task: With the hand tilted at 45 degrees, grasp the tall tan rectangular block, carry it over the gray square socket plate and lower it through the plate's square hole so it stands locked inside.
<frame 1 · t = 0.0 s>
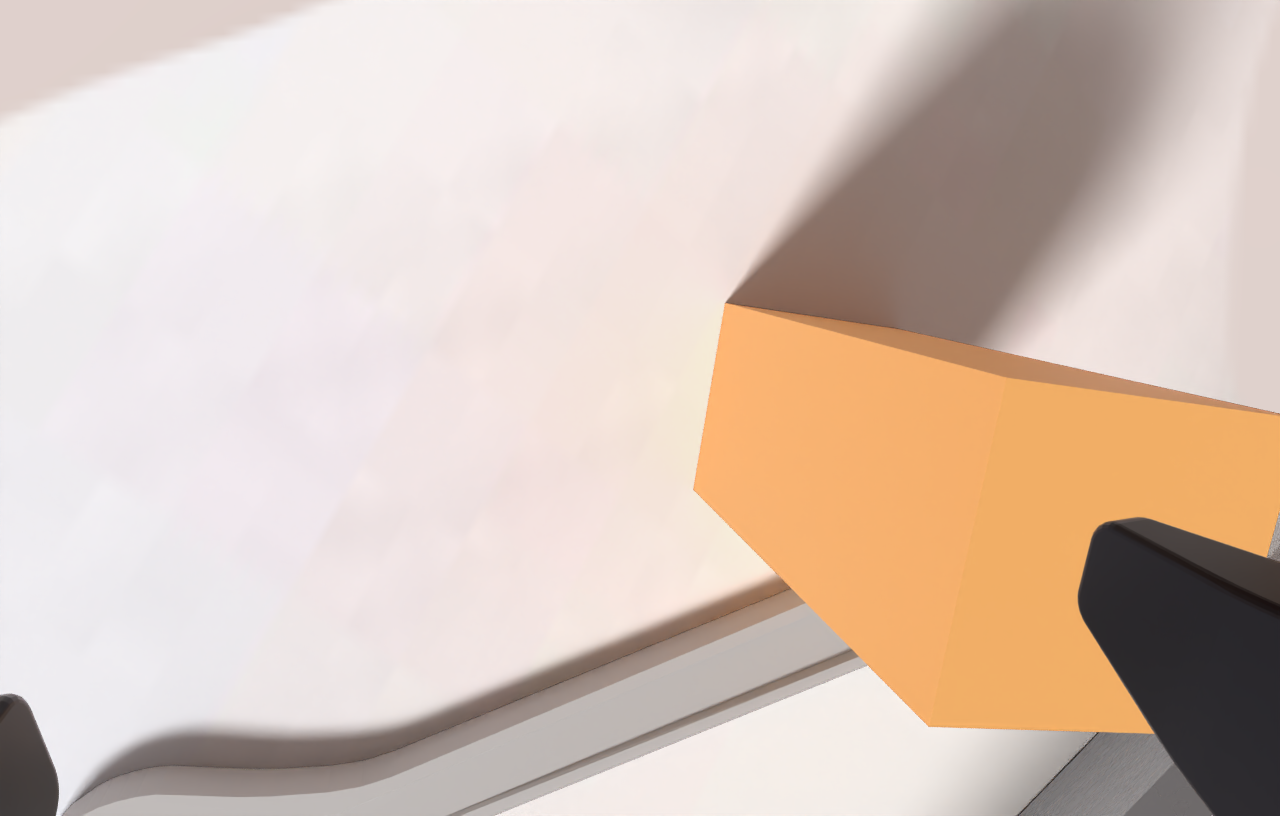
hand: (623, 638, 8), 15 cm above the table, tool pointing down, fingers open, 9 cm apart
tall tan rectangular block: (796, 408, 25), on the table
adjustable wrench: (535, 744, 25), on the table
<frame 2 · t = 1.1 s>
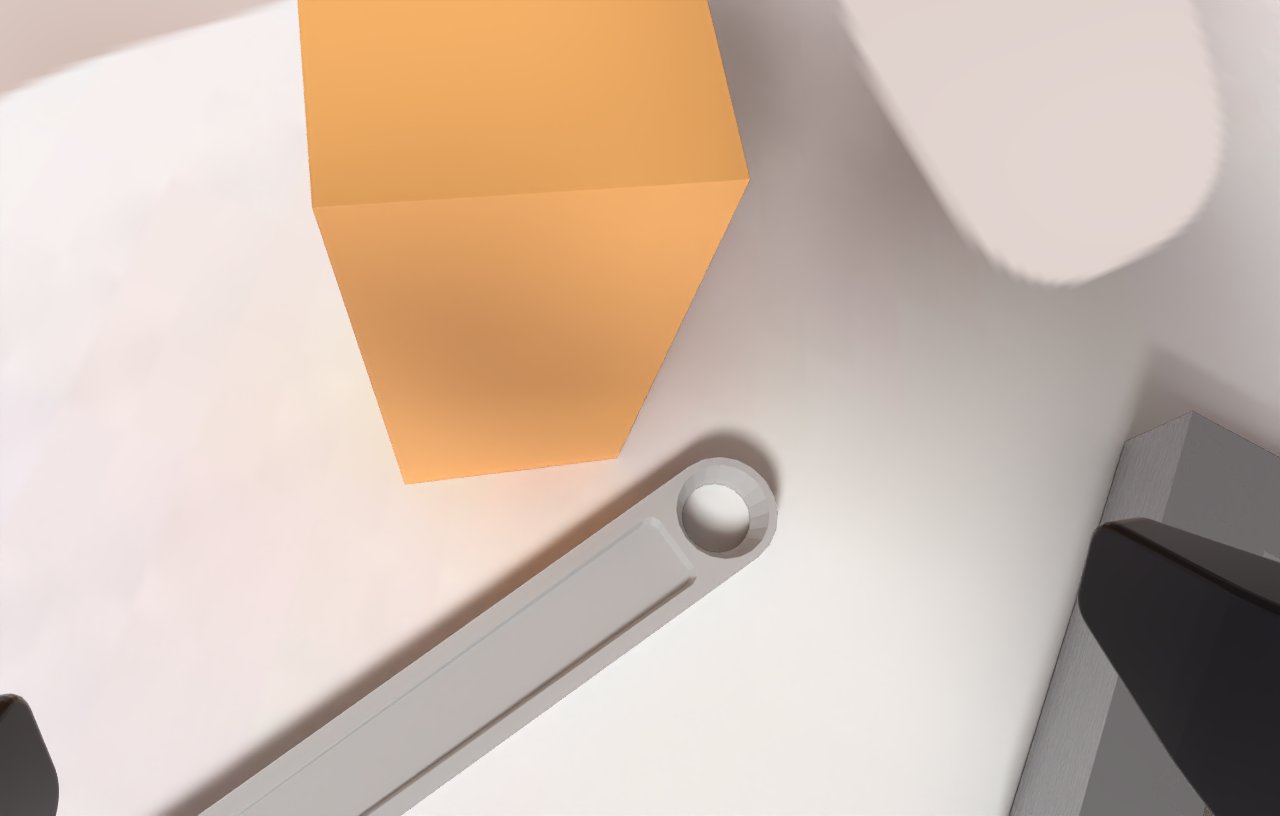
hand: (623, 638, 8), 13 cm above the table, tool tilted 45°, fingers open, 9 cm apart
tall tan rectangular block: (500, 372, 22), on the table
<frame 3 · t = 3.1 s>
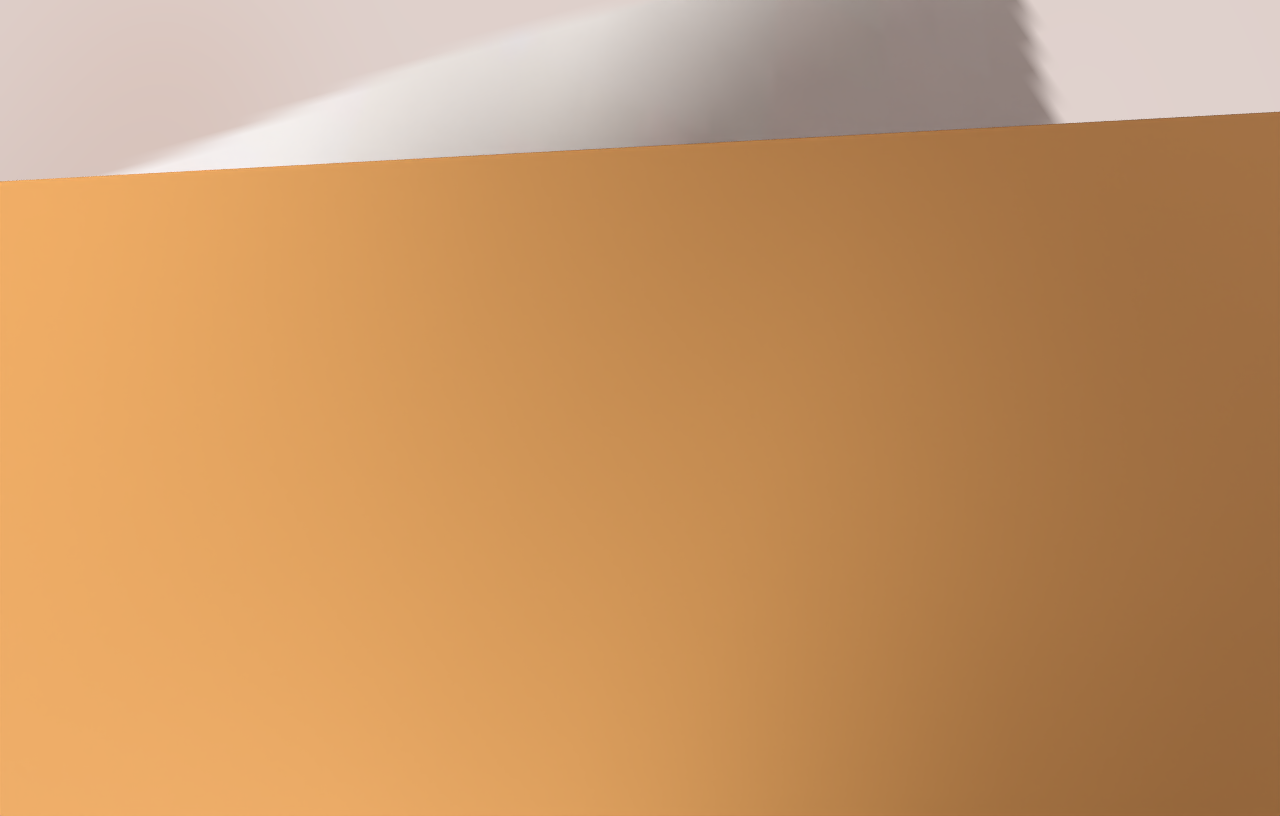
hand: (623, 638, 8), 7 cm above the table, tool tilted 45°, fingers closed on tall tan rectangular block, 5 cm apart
tall tan rectangular block: (576, 776, 13), on the table, touching gripper
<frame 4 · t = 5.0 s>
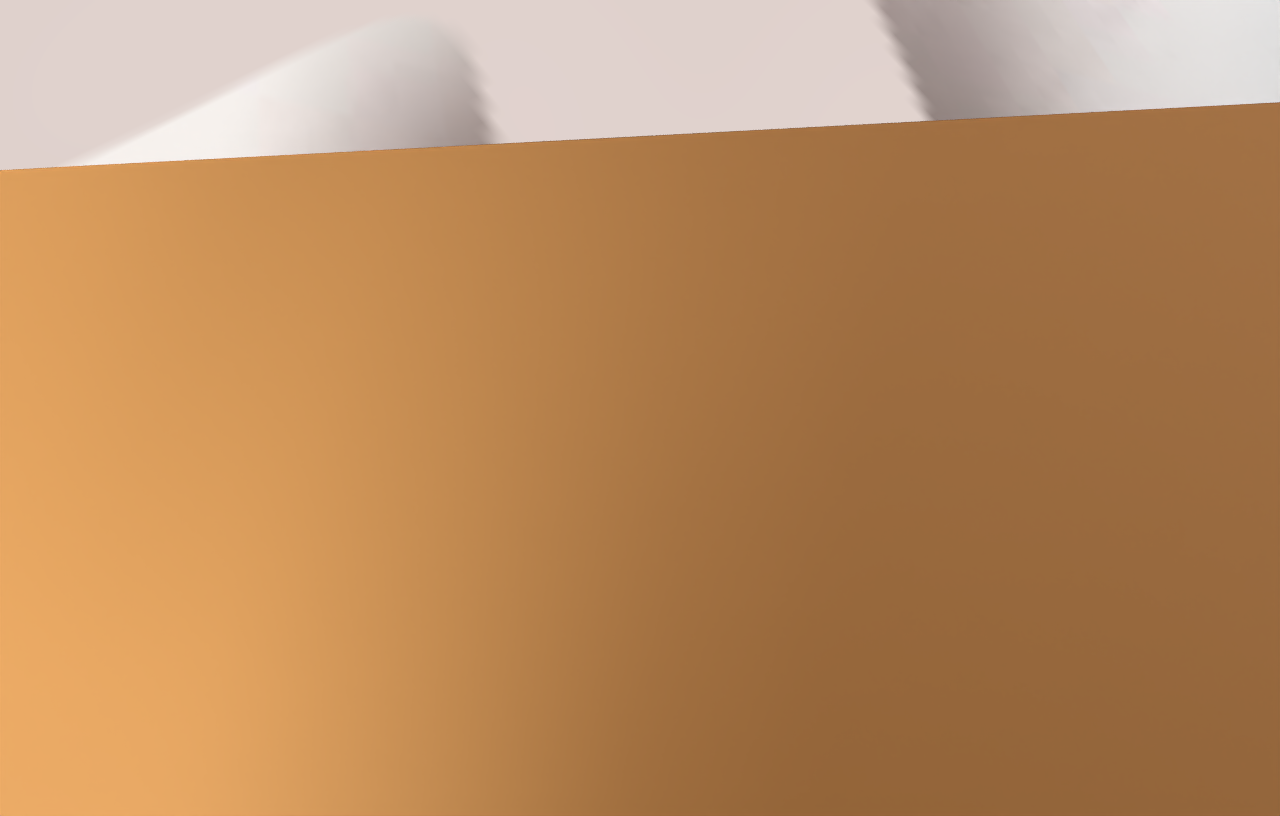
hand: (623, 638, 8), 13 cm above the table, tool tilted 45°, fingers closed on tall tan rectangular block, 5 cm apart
tall tan rectangular block: (573, 774, 13), point 6 cm above the table, touching gripper
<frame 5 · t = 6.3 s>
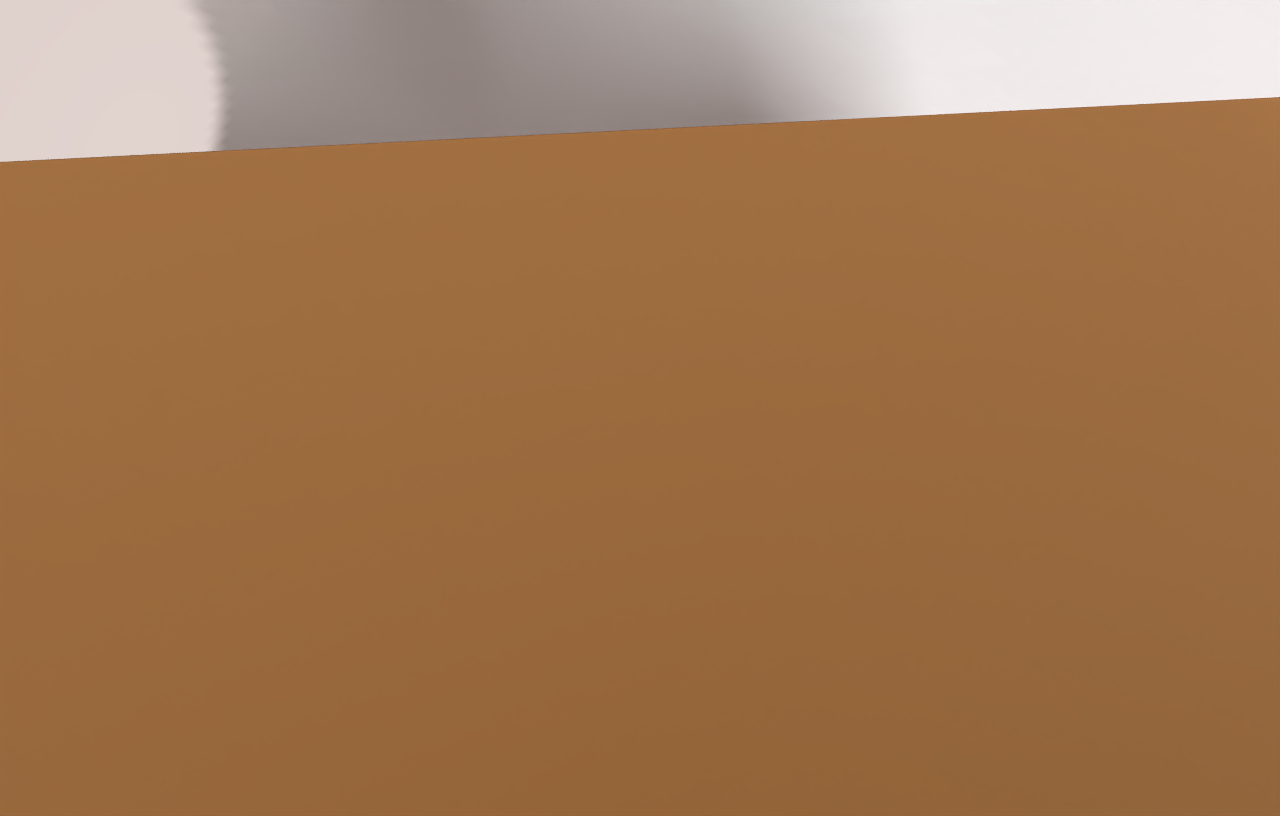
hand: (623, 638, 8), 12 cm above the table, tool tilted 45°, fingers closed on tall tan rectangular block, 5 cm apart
tall tan rectangular block: (575, 772, 13), point 5 cm above the table, touching gripper
when the fingers open (8 cm above the table, at t = 7.4 s): tall tan rectangular block drops 1 cm, resting in gray square socket plate.
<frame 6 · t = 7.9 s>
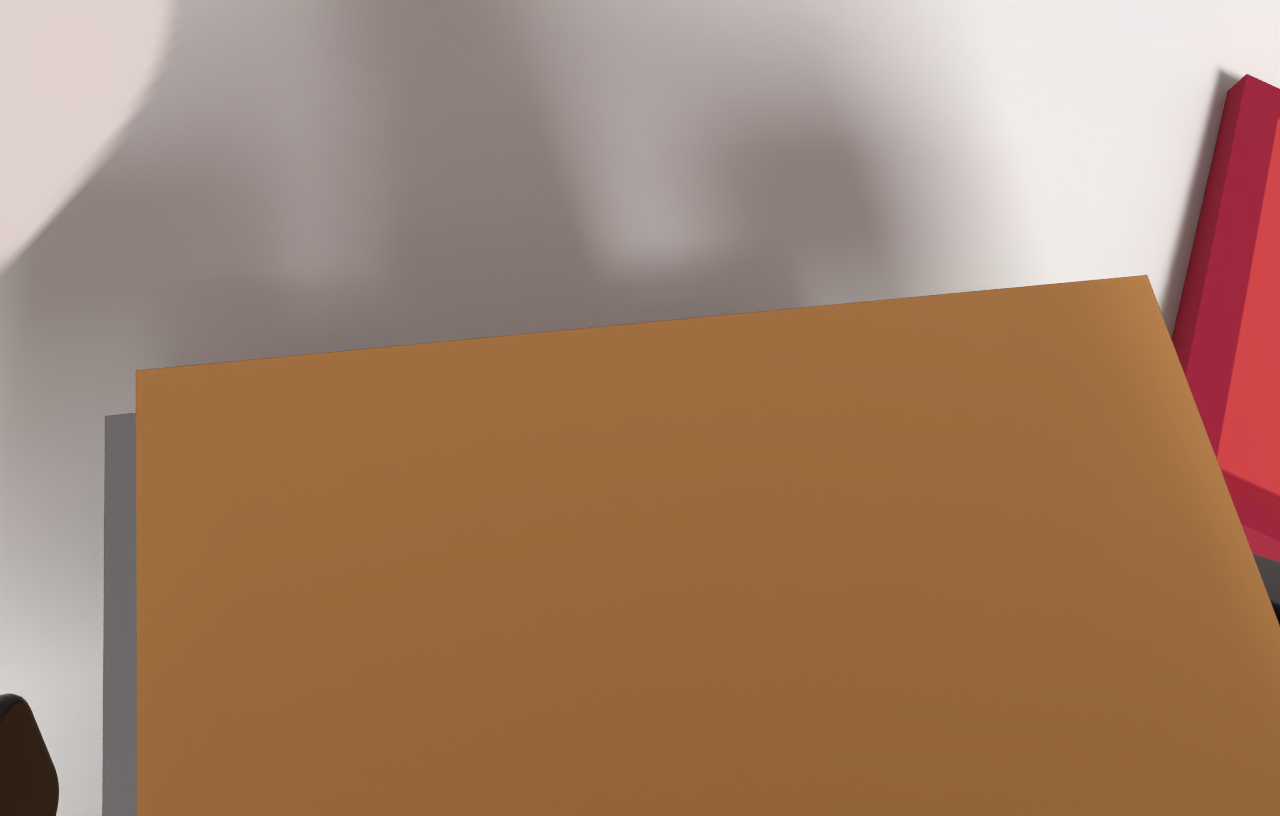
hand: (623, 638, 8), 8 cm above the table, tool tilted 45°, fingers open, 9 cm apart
tall tan rectangular block: (568, 769, 15), resting in gray square socket plate
gray square socket plate: (568, 772, 15), on the table
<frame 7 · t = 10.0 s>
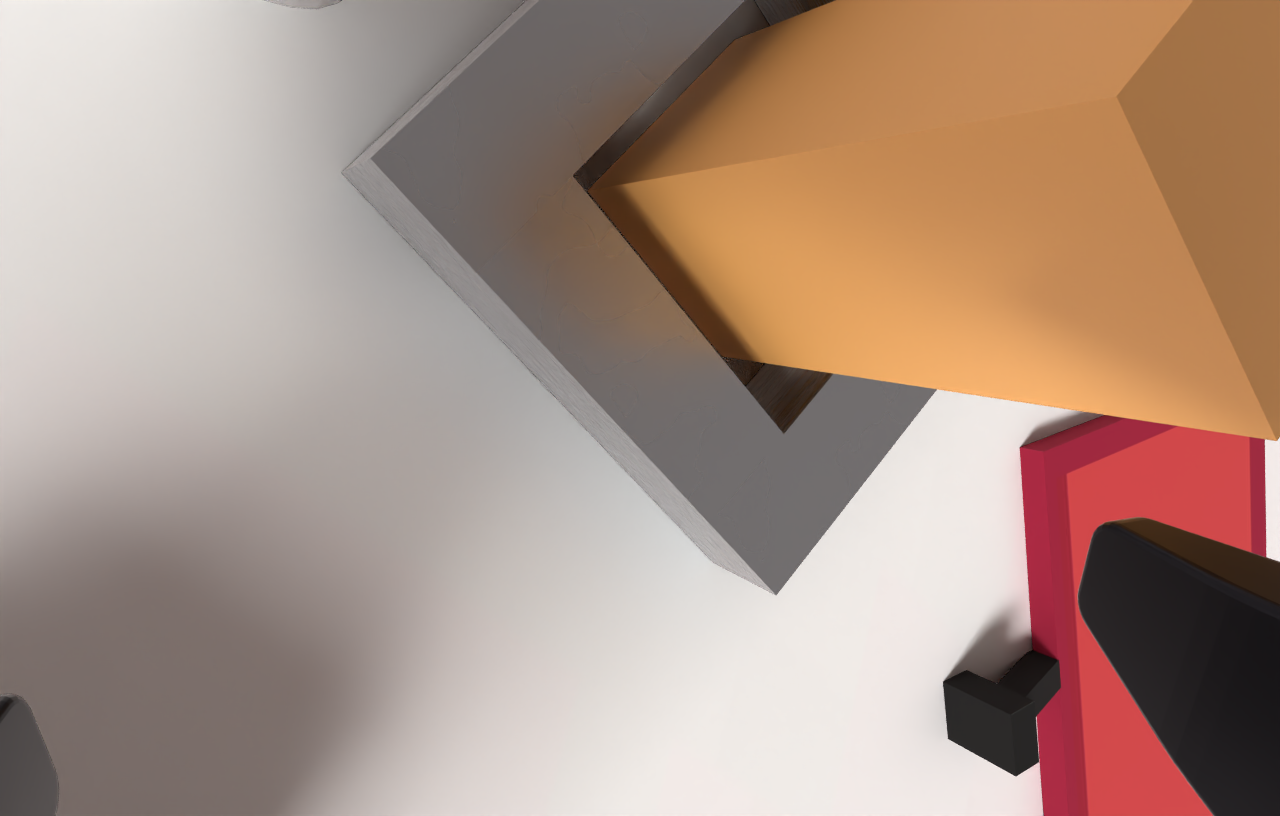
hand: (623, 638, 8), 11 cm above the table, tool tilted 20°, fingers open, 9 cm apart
tall tan rectangular block: (728, 201, 21), resting in gray square socket plate
gray square socket plate: (727, 202, 21), on the table
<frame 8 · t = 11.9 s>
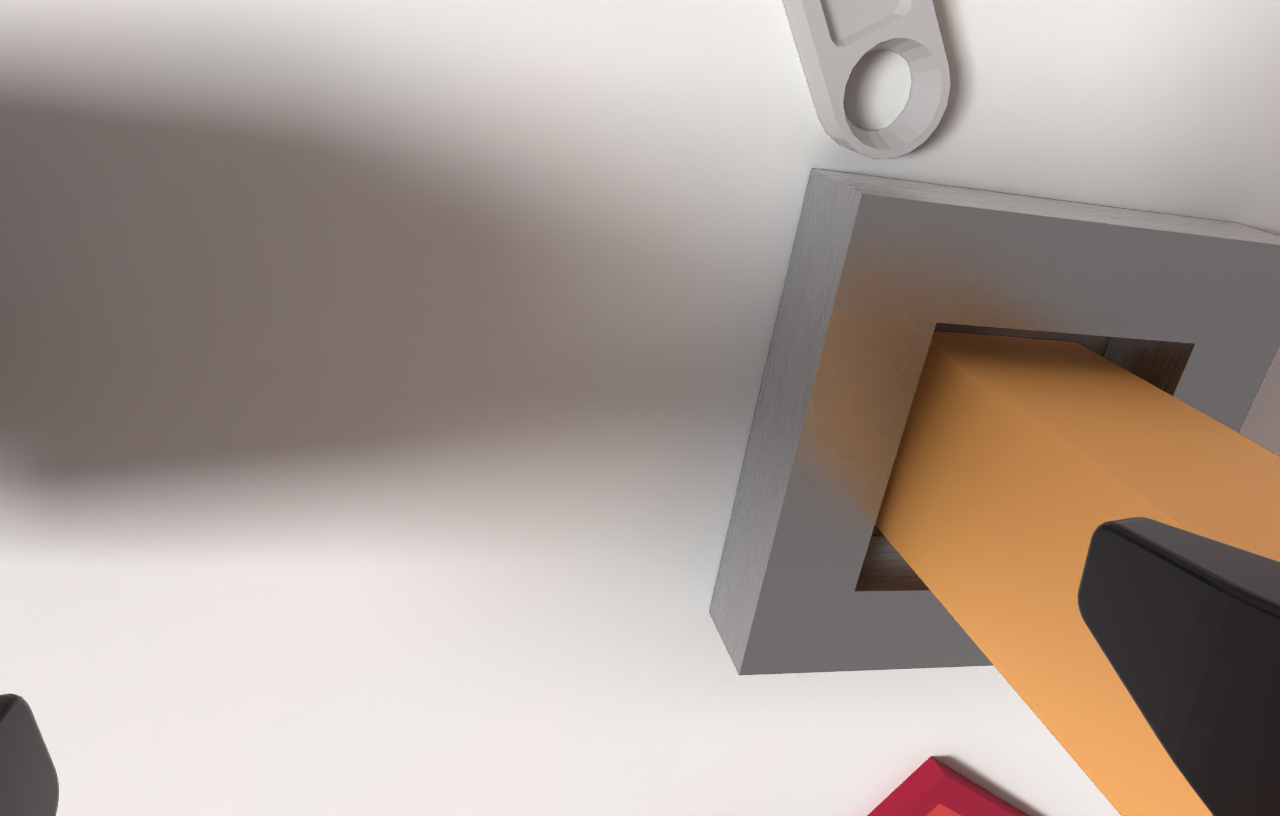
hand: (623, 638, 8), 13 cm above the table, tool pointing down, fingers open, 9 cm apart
tall tan rectangular block: (965, 424, 24), resting in gray square socket plate
gray square socket plate: (965, 423, 24), on the table
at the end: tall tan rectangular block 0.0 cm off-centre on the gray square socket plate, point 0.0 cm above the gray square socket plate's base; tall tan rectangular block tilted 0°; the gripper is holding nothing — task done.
